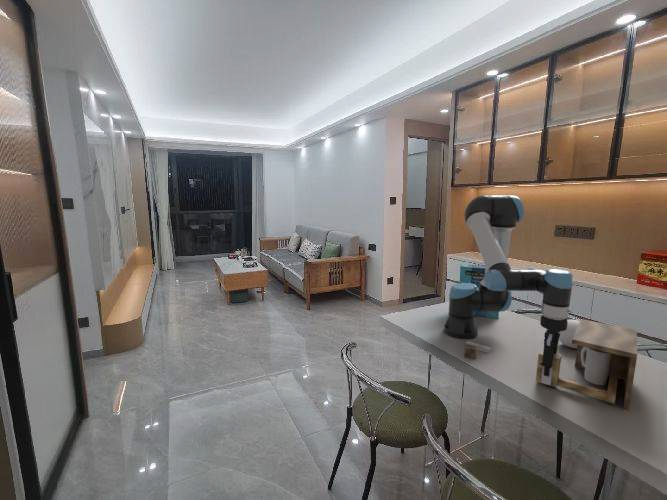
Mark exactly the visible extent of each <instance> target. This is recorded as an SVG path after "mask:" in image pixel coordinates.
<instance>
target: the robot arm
mask: <svg viewBox="0 0 667 500" xmlns="http://www.w3.org/2000/svg"><path fill="white" fill-rule="evenodd" d="M524 208H525V207H524V204H523V201H522V199H521V198H519V197H518V196H516V195H510V194H509V195H508V194H503V195H502V194H499V195H497V194H495V195H494V194H493V195H478V196H476V197H474V198H473V199H471V201H470V202H468V204H467V206H466V207H465V209H464V210H465V211H464V222H465V225H466V226H467V228H468V229H470V230H471V233H472V235H473V237H474V240H475V242H476V245H477V247H478V250H479V252H480V254H481V257H482V259H483V262H484V266H486V268H485V276H484V280H482V281H481V282H480V287H477V286H476V285H475V284H472V283H460V282H459V283H456V284H453V285H451V287H450V288H449V294H448V296H449V297H448V300H449V301H448V315H447V318H446V320H445V323H444V326H443V332H444V333H445V334H446V335H448V336H450V337H453V338H457V339H464V340H466V339H467V340H468V339H469V340H470V339H471V340H472V339H475V338H477V336H479V335H478V333H479V329H478V326H477V323H476V322H477V321H476V319H475V317H476V316H475V312H499V313H500V312H501V313H502V312H506V311H507V310H508V309H509V308H510V306H511V305H512V301H513V296H512V291H513V292H517V291H518V292H539V293H540V294H542V302H541V310H540V311H541V312H540V313H541V315H540V320H539V321H540V322H539V323H540V324H539V325H540V326H541V327H542V328H544V329H545V330H546V331H545V332H544V334H543V335H544V340H543V350H544V351H543V361H542V363H540V365H542V366H543V369H542V378H541V382H540V383H542V384H544V385H546V386H547V385H548V386H551V377H552V369H553V367H552V362H553V355H554V353H556V354H558V345H559V342H560V340H559V337H560V333H559V332H560V331H565V330H566V329H567V323H568V320H569V319H568V318H569V313H571V312H572V309H570V304H571V296H572V290H573V277H574V276H573V274H572V272H570V271H568V270H563V269H556V268H554V269H553V268H552V269H547V270H546V271H545V270H543V269H541V268H538V267H537V268H536V267H528V268H526V269H512V268H511V266H510V264H509V261H508V258H509V251H510V244H511V243H510V242H511V237H512V236H511V235H512V231H513V230H515V229H516V228H517V227H516V226H517V223H520V222H521V221H522V220H523V219H524V216H525V209H524Z"/></svg>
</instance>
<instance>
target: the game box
mask: <svg viewBox="0 0 667 500" xmlns="http://www.w3.org/2000/svg"><path fill="white" fill-rule="evenodd" d="M459 267H460V268H459V269H460V271H459V283H472V284H475V285H476V286H477V287H480V282H481V281H482V280H484V276H485V268H486V265H478V264H477V265H476V264H463V263H462V264H460V265H459ZM499 313H500V312H475V317H481V318H489V319H497V320H498V319H499V317H500V316H499Z"/></svg>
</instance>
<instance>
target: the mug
mask: <svg viewBox="0 0 667 500" xmlns="http://www.w3.org/2000/svg"><path fill="white" fill-rule="evenodd" d="M586 350H587V354H586V361H585V358H584V353H585V351H586ZM611 355H612V353H609V352H605V351H600V350H596V349H592V348H588V347H583V349H582V351H581V361H582V366H584V367H585V369H584V378H583V379H585V381H587V382H588V383H590V384H593V385H597V386H606V385H607V384H608V377H609V375H608V373H609V367H610V361H611Z"/></svg>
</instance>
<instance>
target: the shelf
mask: <svg viewBox="0 0 667 500" xmlns="http://www.w3.org/2000/svg"><path fill="white" fill-rule="evenodd" d="M579 321H580V322H579V324H578V327H577V329H576V332H575V334H574V337H573V339H572V344H575V345H577V348H576V353H575V361H574V367H577V368H581V369H584V370H585V367H584V366H582V361H581V351H582V349H583V347H588V348H592V349H596V350H600V351H605V352H609V353H612V355H611V361H610V367H609V373H608V376H610V375H614V376H617V377H618V379H622V380H624V386H623V388H624V389H623V411H625V412H629V410H630V404H631V398H632V397H631V396H632V393H633V392H632V391H633V384H634V378H635V371H636V367H637V360H638V359H637V358H638V329H633V328H628V327H624V326H623V327H622V326H618V325H614V324H608V323H603V322H599V321H597V322H596V321H593V320H588V319H582V318H580V319H579ZM586 354H587V350H586V351H585V353H584V358H585V361H586Z"/></svg>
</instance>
